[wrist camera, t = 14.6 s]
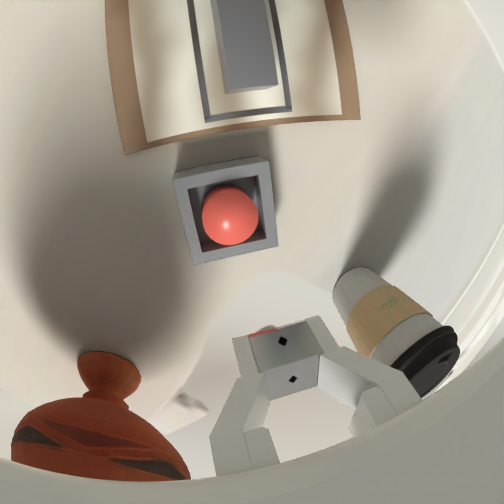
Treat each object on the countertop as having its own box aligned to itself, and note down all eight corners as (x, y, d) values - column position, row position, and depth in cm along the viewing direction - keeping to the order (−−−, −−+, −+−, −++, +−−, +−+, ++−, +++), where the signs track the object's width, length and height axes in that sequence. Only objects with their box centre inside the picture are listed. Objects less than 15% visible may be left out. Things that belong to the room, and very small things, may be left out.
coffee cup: (383, 241, 29) (477, 321, 16) (384, 300, 33) (451, 378, 20) (311, 272, 28) (389, 384, 15) (323, 330, 33) (378, 426, 20)
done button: (206, 236, 22) (208, 250, 20) (196, 189, 20) (197, 199, 18) (253, 225, 23) (261, 238, 21) (247, 179, 21) (254, 187, 19)
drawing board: (127, 153, 19) (124, 155, 18) (107, -23, 10) (104, -28, 10) (355, 119, 21) (361, 119, 21) (326, -39, 13) (330, -43, 12)
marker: (265, 89, 18) (278, 84, 15) (224, 94, 18) (230, 89, 15) (245, -30, 12) (253, -48, 10) (206, -28, 12) (209, -46, 9)
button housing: (192, 248, 24) (193, 265, 21) (174, 172, 21) (172, 180, 18) (268, 231, 25) (278, 246, 22) (259, 155, 22) (268, 161, 19)
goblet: (208, 388, 34) (244, 559, 12) (111, 416, 34) (112, 551, 13) (114, 291, 24) (80, 566, 3) (22, 345, 25) (-21, 506, 3)
